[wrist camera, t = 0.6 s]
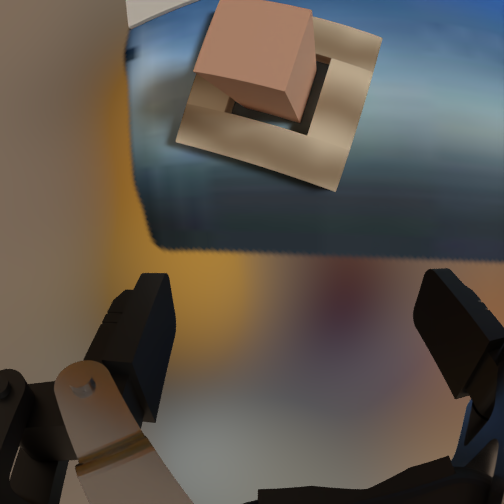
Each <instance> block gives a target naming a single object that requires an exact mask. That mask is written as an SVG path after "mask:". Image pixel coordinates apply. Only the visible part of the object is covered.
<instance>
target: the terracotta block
mask: <svg viewBox="0 0 504 504" xmlns="http://www.w3.org/2000/svg"><path fill="white" fill-rule="evenodd" d="M193 72H195V73H196V74H198V75H199V76H201V77H202V78H204V79H205V80H207V81H208V82H210V83H211V84H212V85H214V86H215V87H217V88H218V89H220V90H221V91H222V92H224V93H225V94H227V95H228V96H229V97H231V98H232V99H233V100H235V101H236V102H238V103H239V104H240V105H242V106H243V107H244V108H247V109H251V110H255V111H259V112H262V113H266V114H270V115H273V116H277V117H280V118H284V119H287V120H290V121H294V122H297V123H301V119H302V116H303V113H304V110H305V107H306V104H307V101H308V98H309V94H310V91H311V88H312V85H313V82H314V79H315V76H316V72H317V69H316V54H315V40H314V28H313V17H312V10H309V9H305V8H300V7H296V6H291V5H286V4H281V3H275V2H270V1H264V0H220V1H219V4H218V6H217V9H216V11H215V14H214V16H213V19H212V21H211V24H210V26H209V29H208V31H207V34H206V37H205V39H204V42H203V45H202V47H201V50H200V53H199V56H198V59H197V61H196V64H195V67H194V70H193Z"/></svg>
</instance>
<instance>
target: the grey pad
mask: <svg viewBox="0 0 504 504" xmlns="http://www.w3.org/2000/svg"><path fill="white" fill-rule="evenodd" d="M196 1H199V0H126V9H127V18H128V27H129V28H130V29H133V28H135V27H137V26H139V25H141V24H143V23H145V22H148V21H150V20H152V19H154V18H156V17H159V16H161V15H163V14H166V13H168V12H171V11H173V10H175V9H178V8H180V7H183V6H186V5H188V4H191V3H194V2H196Z"/></svg>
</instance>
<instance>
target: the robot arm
mask: <svg viewBox="0 0 504 504" xmlns="http://www.w3.org/2000/svg"><path fill="white" fill-rule="evenodd" d="M413 319H414V324H415V327H416V329H417V330H418V332H419V334H420V335H421V337H422V339H423V341H424V342H425V344H426V346H427V347H428V349H429V351H430V353H431V355H432V356H433V358H434V360H435V362H436V364H437V365H438V367H439V369H440V371H441V373H442V375H443V377H444V379H445V380H446V382H447V384H448V386H449V388H450V390H451V392H452V394H453V396H454V398H455V399H458V398H462V397H465V396H470V397H471V400H470V401H469V403H468V405H467V407H466V412H465V416H464V421H463V425H462V430H461V434H460V437H459V441H458V446H457V449H456V452H455V455H454V457H453V459H452V460H450V458H449V456H446V457H443V458H440V459H437V460H434V461H431V462H428V463H424V464H421V465H418V466H414V467H410V468H408V469H406V470H405V471H403V472H401V473H399V474H397V475H395V476H393V477H391V478H389V479H387V480H386V481H383V482H381V483H379V484H377V485H375V486H373V487H371V488H368V489H361V490H360V489H340V488H328V487H317V486H306V487H294V488H282V489H281V488H280V489H259V490H258V500H255V501H251V502H247V503H244V504H504V327H503V326H502V325H501V324H500V322H499V321H498V320H497V319H496V317H495V316H494V315H493V314H492V313H491V312H490V310H487V307H486V306H485V304H484V303H483V302H481V300H480V298H479V297H478V296H477V295H476V294H475V293H474V292H473V290H471V289H470V288H468V287H467V286H465V285H464V284H463V283H462V282H461V281H460V280H459V279H458V278H457V276H456V275H455V274H454V273H453V272H452V271H451V270H450V269H447V268H446V269H429V270H427V271H426V272H425V274H424V277H423V281H422V284H421V288H420V291H419V294H418V297H417V301H416V303H415V307H414V311H413ZM175 332H176V316H175V310H174V304H173V299H172V293H171V286H170V280H169V276H168V274H167V273H142V274H141V276H140V278H139V280H138V282H137V284H136V286H135V288H134V290H125V291H123V292H122V293H121V294H120V295H119V296H118V297H116V298H115V299H114V300H113V302H112V304H111V306H110V308H109V310H108V314H106V315H105V317H104V319H103V321H102V324H101V325H100V327H99V329H98V331H97V333H96V335H95V338H94V339H93V341H92V343H91V345H90V347H89V349H88V352H87V353H86V356H85V358H84V360H83V361H78V362H75V363H73V364H71V365H69V366H67V367H66V368H64V369H63V370H62V371H61V372H60V373H59V375H58V376H57V378H56V380H55V381H52V382H44V383H34V384H27V382H26V381H25V379H24V377H23V376H22V375H21V373H19V372H18V371H16V370H13V369H5V370H1V371H0V504H59V502H60V497H61V492H62V488H63V483H64V479H65V475H66V470H67V466H68V462H69V460H78V462H79V464H77V465H76V466H75V470H76V473H77V477H78V479H79V482H80V484H81V486H82V488H83V490H84V493H85V495H86V497H87V499H88V501H89V503H90V504H194V503H193V502H192V501H191V500H190V498H189V497H188V496H187V494H186V493H185V492H184V490H183V489H182V488H181V486H180V485H179V484H178V482H177V481H176V479H175V478H174V477H173V475H172V474H171V472H170V471H169V470H168V468H167V467H166V465H165V464H164V463H163V461H162V459H161V458H160V456H159V455H158V454H157V452H156V450H155V449H154V447H153V446H152V444H151V443H150V441H149V440H148V438H147V437H146V436H145V435H144V434H143V432H142V431H141V426H142V422H143V421H144V422H153V423H155V422H156V418H157V413H158V408H159V404H160V399H161V394H162V390H163V385H164V381H165V376H166V372H167V367H168V363H169V359H170V354H171V350H172V346H173V342H174V338H175ZM19 446H20V450H19V453H18V456H17V459H16V462H15V465H14V468H13V471H12V475H11V478H10V481H9V476H10V472H11V468H12V465H13V462H14V459H15V456H16V453H17V450H18V447H19Z"/></svg>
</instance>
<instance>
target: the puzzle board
mask: <svg viewBox="0 0 504 504" xmlns="http://www.w3.org/2000/svg"><path fill="white" fill-rule="evenodd" d="M312 17H313V16H312ZM313 28H314V40H315V54H316V61H318V62H321V63H325V64H328V65H329V68H328V71H327V74H326V77H325V81H324V84H323V87H322V90H321V93H320V97H319V100H318V103H317V106H316V109H315V112H314V116H313V119H312V122H311V125H310V128H309V131H308V134H307V135H303V134H300V133H297V132H294V131H291V130H288V129H284V128H281V127H278V126H274V125H271V124H267V123H264V122H260V121H257V120H253V119H249V118H246V117H242V116H238V115H234V114H231V113H232V110H233V107H234V104H235V100H233V99H232V98H231V97H229V96H228V95H227V94H225V93H224V92H222V91H221V90H220V89H218V88H217V87H215V86H214V85H212V84H211V83H210V82H208V81H207V80H205V79H204V78H202V77H201V76H199V75H198V74H196V76H195V79H194V82H193V85H192V89H191V92H190V95H189V98H188V101H187V104H186V108H185V111H184V114H183V117H182V121H181V124H180V128H179V131H178V135H177V138H176V142H177V143H181V144H185V145H189V146H192V147H196V148H200V149H203V150H207V151H211V152H214V153H218V154H221V155H225V156H228V157H231V158H235V159H238V160H241V161H245V162H248V163H251V164H254V165H258V166H261V167H264V168H267V169H270V170H273V171H276V172H280V173H283V174H286V175H289V176H292V177H295V178H297V179H300V180H303V181H306V182H309V183H312V184H315V185H318V186H320V187H323V188H326V189H329V190H332V191H334V192H336V190H337V187H338V184H339V181H340V178H341V175H342V172H343V169H344V166H345V163H346V160H347V157H348V154H349V151H350V148H351V144H352V141H353V138H354V135H355V132H356V129H357V125H358V122H359V119H360V116H361V112H362V109H363V106H364V102H365V99H366V96H367V92H368V89H369V85H370V82H371V78H372V75H373V71H374V68H375V64H376V60H377V57H378V53H379V49H380V46H381V42H382V38H381V37H378V36H376V35H373V34H370V33H367V32H364V31H361V30H358V29H355V28H352V27H349V26H345V25H342V24H339V23H335V22H332V21H328V20H324V19H321V18H317V17H313Z"/></svg>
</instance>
